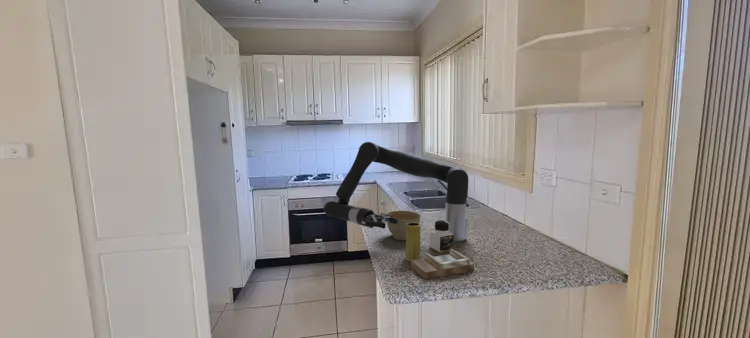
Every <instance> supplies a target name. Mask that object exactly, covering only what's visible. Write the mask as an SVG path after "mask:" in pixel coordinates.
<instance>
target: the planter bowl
mask: <svg viewBox="0 0 750 338" xmlns="http://www.w3.org/2000/svg"><path fill="white" fill-rule="evenodd" d="M386 214H388V215H392V218H396V219H398V223H397V224H394V223H390V222H386V227H387V229H388V230H389V232H390V233H391V236H392V238H393V239H395V240H398V241H406V231H407V223H410V222H415V223H419V224H420V223H421V221H420V220H421V214H419V213H417V212H415V211H411V210H392V211H389V212H386Z"/></svg>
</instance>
